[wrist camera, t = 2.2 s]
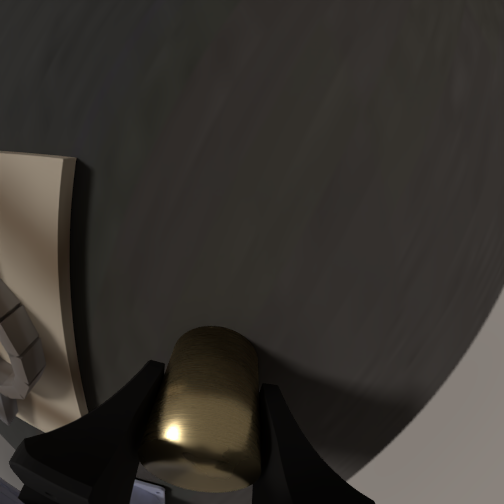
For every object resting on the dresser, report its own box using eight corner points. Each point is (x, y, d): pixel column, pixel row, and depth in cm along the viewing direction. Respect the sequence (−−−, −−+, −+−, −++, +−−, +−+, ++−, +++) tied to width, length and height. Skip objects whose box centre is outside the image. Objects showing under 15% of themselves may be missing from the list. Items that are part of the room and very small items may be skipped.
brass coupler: (247, 396, 14) (246, 497, 8) (170, 380, 13) (141, 477, 8) (267, 336, 13) (276, 449, 7) (177, 317, 12) (134, 422, 7)
